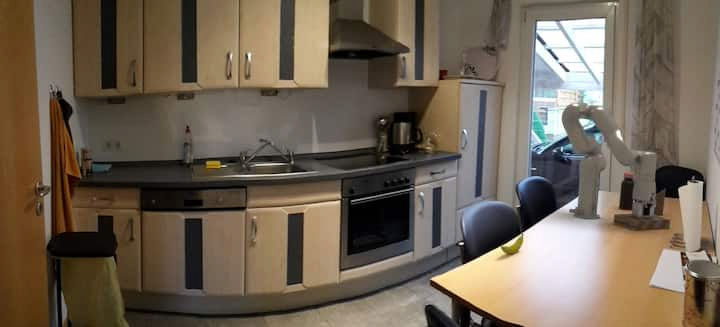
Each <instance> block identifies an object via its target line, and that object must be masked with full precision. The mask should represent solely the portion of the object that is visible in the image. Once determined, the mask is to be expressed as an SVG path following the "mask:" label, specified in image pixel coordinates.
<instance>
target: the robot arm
mask: <svg viewBox="0 0 720 327" xmlns="http://www.w3.org/2000/svg"><path fill="white" fill-rule="evenodd" d="M581 119H583V120H587V121H592V122H593V124H594V125H595V126H596V127H597V129H598V130H599V132H600V133H601V136H603V137H604V139H605V142H606V145H607V147H608V149H609V150H610V152H611V153H612V155H613V156H614V158H615V159H616V161H617V162H618V163H619V164H620V165H622V166H624V167H630V166H637V165H638V166H637V174H636V176H637V178H636V179H635V181H634V183H635V184H634V188H633V197H632V198H633V202H643V201H644V202H645V208H644V214H643V215H644V216H649V215H650V208H651V207H652V206H653V205H654V204H655V205H656V200H655V196H656V195H657V187H656V181H655V180H656V172H657V171H656V170H657V160H658V159H657V157H658V155H657V153H656V152H653V151H643V150H642V151H641V150H637V149H629V147H628V146H627V145H626V143H625V141H624V138H623V131H622V128H621V127H620V125H619V124H618V123H617V121H616V120H615V119H614V112H613V110H612V109H611V107H609V106H606V105H599V104H594V103H588V102H572V103H570V104H568V105H567V106H566V107H565V108H564V109H563V112H562V114H561V123H562V127H563V128H564V131H565V133H566V134H567V137H568V140H569V142H570V145H571V147H572V148H573V151H574V152H575V153H576V154H577V155H579V156H583V157H584V158H582V160H580V162H579V167H578V168H579V170H578V171H579V182H578V183H579V184H578V193H577V194H578V197H577V206H575V208H570V209H568V212H569V214H570V213H571V214H573V216H575V217H577V218H579V219H580V218H581V219H588V220H597V219H600V218H601V215H600V214H599V213H598V206H599V196H600V195H599V191H600V173H601V172H604V171H605V169H606V168H607V160H606V157H605V155H604V152H603V150H602V149H601V147H600V144H599V142H598V141H597V140H596V139H595V137H592V136H590V135H587V133H586V131H585V129H584V127H583V126H582V123H581V122H580V120H581ZM648 202H649V204H648Z"/></svg>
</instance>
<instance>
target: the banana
mask: <svg viewBox="0 0 720 327" xmlns="http://www.w3.org/2000/svg"><path fill="white" fill-rule="evenodd" d="M524 235H525V234H524V233H522V234H521V235H520V236H518V238H517V239H516V241H515V242H514V243H513V244H511V245H508V246H506V245H501V246H500V250H502V252H503V253H504V254H507V255H511V254H516V253H517V252H519V250H520V249H521V247H522V246H523V243H524Z"/></svg>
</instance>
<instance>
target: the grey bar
mask: <svg viewBox="0 0 720 327" xmlns="http://www.w3.org/2000/svg"><path fill="white" fill-rule="evenodd" d="M648 204H649V202H648ZM655 206H656V204H654V205H653V206H652V207H651V208H650V215H649V216H644V215H643V214H644V208H645V202H635V201H633V209H632V210H631V214H632V217H633V218H636V219H643V218H653V217H654V215H655V214H654V207H655Z"/></svg>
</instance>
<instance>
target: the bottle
mask: <svg viewBox="0 0 720 327" xmlns="http://www.w3.org/2000/svg"><path fill="white" fill-rule="evenodd" d="M634 177H635V174H634V173H630V172H624V173H623V180H622V181H621V183H620V193H619V204H618V205H619V206H618V209H619V210H624V211H632V209H633V202H634V199H633V198H632V197H633V188H634V184H635V181H634Z"/></svg>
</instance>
